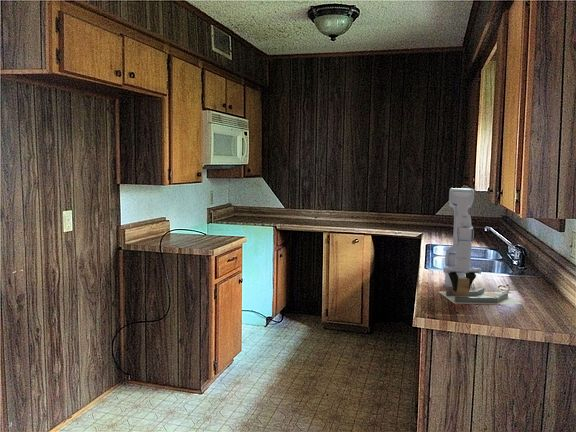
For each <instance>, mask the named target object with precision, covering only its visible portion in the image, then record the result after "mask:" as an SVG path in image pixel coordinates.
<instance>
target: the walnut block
mask: <svg viewBox="0 0 576 432" xmlns="http://www.w3.org/2000/svg"><path fill="white" fill-rule="evenodd" d="M469 281H470V279H469V278H467V277H466V275H465V276H458V281H457V291H453V293H454V294H455V295H456V296H469V291H470V290H469Z"/></svg>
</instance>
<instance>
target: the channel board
mask: <svg viewBox="0 0 576 432" xmlns="http://www.w3.org/2000/svg"><path fill="white" fill-rule="evenodd" d="M438 293H440V294H441V295H442V296H443V297H445V298H446V299H448V300H449V302H452V303H453V304H467V305H468V304H469V305H471V304H472V305H474V304H475V305H476V304H477V305H518V306H519V307H520V306H521V307H522V306H523V303H521V302H519V301H518V300H517V299H514V298H512V297H510V296H509V295H508V298H506V299H504V300H502V301H500V302H498V303H456V302H455V297H496V296H498V295H500V294H502V293H503V292H502V291H484V293H482V294H480V295H478V296H446V290H445V291H443V290H441V291H438Z"/></svg>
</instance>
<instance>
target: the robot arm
mask: <svg viewBox="0 0 576 432" xmlns="http://www.w3.org/2000/svg"><path fill="white" fill-rule="evenodd" d="M448 193H449V194H448V205H449V207H450V208H452V209H453V212H454V214H453V235H452V236H453V237H452V245H451V246H449V247H447V248H446V250H445V259H444V260H445V261H444V265H445V266H446V267H443V270H442V271H443V272H442V273H444V283H442V285H443V286H444V287H448V288H452V290H453V291H457V281H458V276H465V277H467V278H469V279H470V281H469V291H471V290H470V289H471V286H472V283H473V282H474V280H475V279H476V277H477V274H478V275H481V274H482V269H481V267H471V260H472V259H471V257H472V256H471V255H472V243H473V242H474V237H475V230H474V227H473V225H472V217H471V215H470V214H469V213H468V212H469V208H471V207H472V206H473V203H474V200H475V190H474V188H462V187H461V188H459V187H458V188H457V187H455V188H453V187H451V188H449V192H448Z"/></svg>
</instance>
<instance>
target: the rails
mask: <svg viewBox="0 0 576 432" xmlns="http://www.w3.org/2000/svg"><path fill="white" fill-rule="evenodd" d="M445 291H446V296H456V295H455V294H454V293H453V289H452V290H445ZM484 292H485V287H479V288H477V289H475V290H469V296H478V295H480V294H482V293H484ZM508 296H509V292H508V291H504V292H502V294H500V295H498V296H496V297H455V302H456V303H498V302H500V301H502V300H504V299H506V298H508ZM456 303H455V304H456Z"/></svg>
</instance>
